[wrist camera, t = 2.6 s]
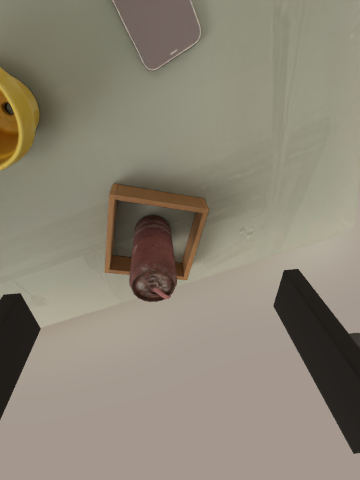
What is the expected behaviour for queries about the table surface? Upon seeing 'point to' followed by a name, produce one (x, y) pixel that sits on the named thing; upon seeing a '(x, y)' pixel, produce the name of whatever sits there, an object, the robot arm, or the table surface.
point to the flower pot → (16, 120)
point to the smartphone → (159, 28)
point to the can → (153, 260)
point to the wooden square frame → (163, 200)
